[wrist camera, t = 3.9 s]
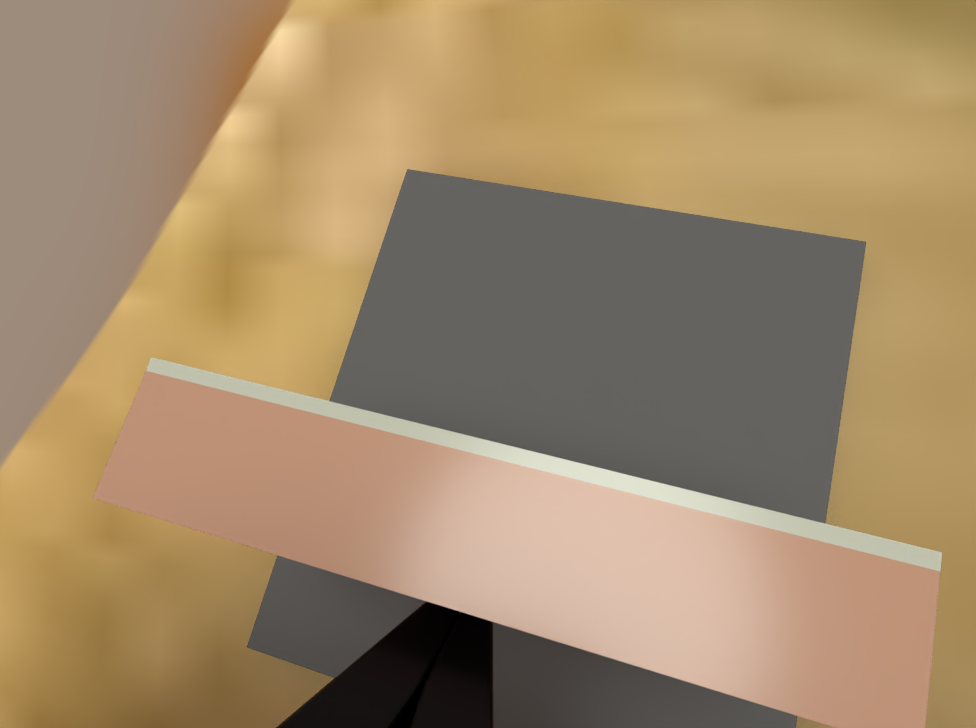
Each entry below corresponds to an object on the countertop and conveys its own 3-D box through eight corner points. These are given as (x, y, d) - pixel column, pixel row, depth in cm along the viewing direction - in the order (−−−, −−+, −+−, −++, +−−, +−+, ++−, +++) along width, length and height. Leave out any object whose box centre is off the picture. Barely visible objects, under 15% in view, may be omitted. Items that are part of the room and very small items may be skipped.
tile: (752, 663, 14) (922, 754, 7) (324, 536, 17) (92, 498, 9) (768, 567, 15) (942, 552, 7) (349, 456, 17) (151, 356, 10)
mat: (772, 821, 14) (780, 832, 13) (258, 644, 17) (246, 647, 16) (857, 252, 17) (866, 241, 17) (413, 180, 20) (407, 169, 19)
